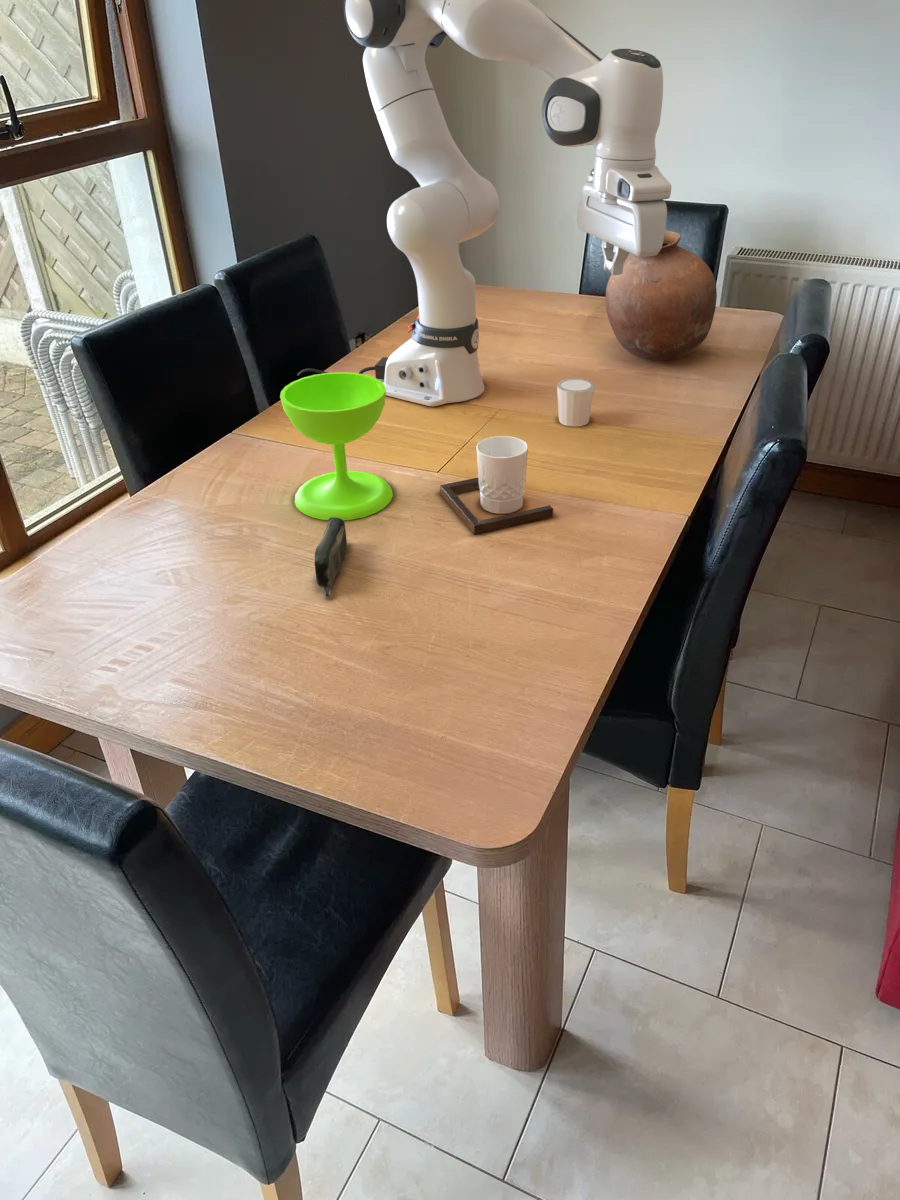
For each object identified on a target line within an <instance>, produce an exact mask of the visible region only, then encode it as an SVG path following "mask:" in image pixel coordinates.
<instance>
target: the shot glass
mask: <svg viewBox="0 0 900 1200" xmlns="http://www.w3.org/2000/svg"><path fill="white" fill-rule="evenodd" d="M595 388H596V387H595V384H594V382H592V381H590V380H588V379H583V378H566V379H562V380H560V381H558V382H557V384H556V391H557V395H556V396H557V411H558V413H557V414H558V422H559V423H560V424H561V425H564V426H567V427H572V428H573V427H582V426H585V425H587V424H588V423H589V421H590V417H591V411H592V404H593V398H594V392H595Z"/></svg>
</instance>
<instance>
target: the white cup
mask: <svg viewBox="0 0 900 1200" xmlns="http://www.w3.org/2000/svg"><path fill="white" fill-rule="evenodd" d="M528 452H529V445H528V443H527V441H525V440H523V439H521V438H519V437H515V436H509V435H495V436H490V437H486V438H483V439H482V440H479V442H477V444H476V465H477V466H476V467H477V478H478V479H479V489H478V490H479V500H480V503H479V504H480V506H481V507H482V509H483V510H484V511H487V512H489V513H492V514H497V515H507V514H512V513H516V512H518V510H520V509H521V508H523V503H524V494H525V493H524V492H525V489H526V481H527V480H526V479H527V467H528V466H527V465H528V454H529V453H528Z"/></svg>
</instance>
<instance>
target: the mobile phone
mask: <svg viewBox="0 0 900 1200" xmlns="http://www.w3.org/2000/svg"><path fill="white" fill-rule="evenodd" d="M345 524H346V523H345V520H342V519H340V518H337V517H331V518H329V520H327V524H326V527H325V530H324V532H323V536H322V538H321V540H320V542H319V543H318V545H317V546H316V548H315V550H314V572H315V579H316V584H317V586H318V587H320V588H325V597H326V598H329V597H331V594H332V588H333V584H334V582H335V579H336V577H337V575H338V574H339V572H340V570H341V566H342V563H343V560H344V557H345V553H346V550H347V544H348V540H347V531H346V525H345Z"/></svg>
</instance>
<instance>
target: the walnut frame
mask: <svg viewBox="0 0 900 1200" xmlns="http://www.w3.org/2000/svg"><path fill="white" fill-rule="evenodd" d="M478 490H480V489H479V479H478V477H474V478H473V477H472V478H469V479H464V480H459V481H454V482H449V483H446V484H445V483H444V484H440V485H439V495H440V496H441V497H442V498H443V499H444V500H445V502H446V503H447V504H448V505H449V506H450V508H451V509H452V510H453V511H454V512H455V513H456V514H457V516H458V517H459V518H460V519H461V521H462V522H463V523H464V524H465V526H466V527H467V528H468V529H469V530H470V531H471V533H472V534H473V535H474V536H475V535H480V534H484V533H488V532H493V531H498V530H503V529H507V528H510V527H515V526H520V525H525V524H529V523H533V522H538V521H542V520H546V519H552V518H553V517H554V507H553V506H552V505H550V504H548V505H543V506H540V507H535V508H530V509H525V510H522V511H515V512H512V513H507V514H502V515H499V516H494V517H489V518H485V519H480V520H479V519H478V518H477V517H476V516H475V515H474V514H473V513H472V512H471V510H470V509H469V508H468V507H467V506H466V505H465V503H464V502H463V501H462V500H461V499H460V497H459V496H458V495H460V494H464V493H469V492H473V491H478Z"/></svg>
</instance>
